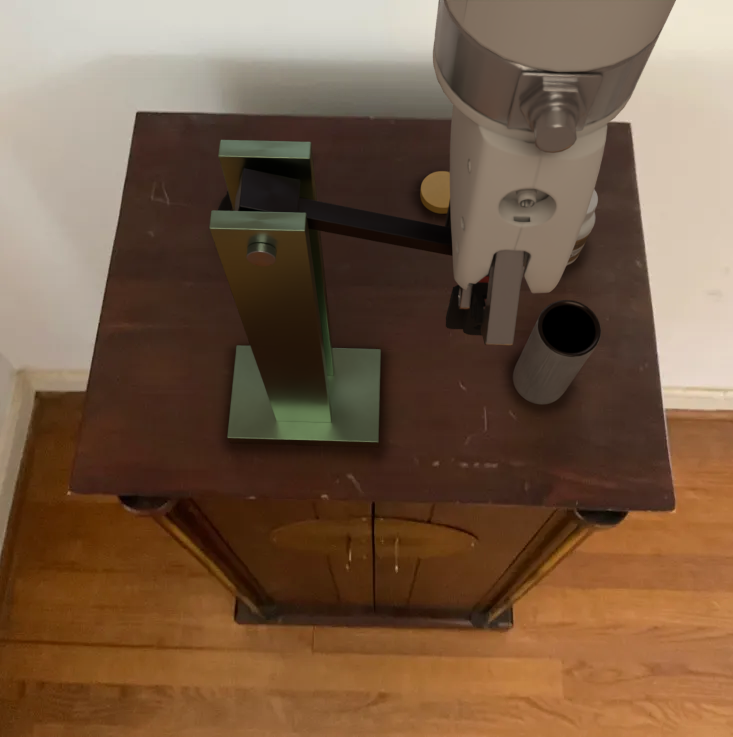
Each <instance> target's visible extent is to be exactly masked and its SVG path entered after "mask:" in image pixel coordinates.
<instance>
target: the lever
mask: <svg viewBox="0 0 733 737" xmlns="http://www.w3.org/2000/svg"><path fill="white" fill-rule="evenodd" d="M299 192H300V179H296V178H291V177H286V176H281V175H276V174H271V173H266V172H262V171H257V170H252V169H247V168H244V169H243V171H242V175H241V179H240V182H239V186H238V190H237V194H236V201H235V210H233V211H253V212H293V213H306V214H307V222H308V229H312V230H318V231H320V232H324V233H329V234H335V235H339V236H340V235H341V236H345V237H351V238H355V239H361V240H366V241H372V242H375V243H382V244H387V245H393V246H399V247H403V248H408V249H413V250H418V251H424V252H431V253H435V254H439V255H445V256H451V257H453V252H452V233H451V227H446V226H445V225H441V224H436V223H432V222H431V223H430V222H425V221H421V220H416V219H412V218H411V219H410V218H406V217H400V216H395V215H391V214H385V213H381V212H375V211H370V210H366V209H362V208H361V209H360V208H355V207H350V206H345V205H340V204H335V203H330V202H324V201H320V200H317V201H315V200H310V199H305V198H300V197H299ZM478 282H484V283H489V277H486V276H485V277H484V278H482V279H481V280H480V281H478Z"/></svg>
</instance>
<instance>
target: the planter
mask: <svg viewBox="0 0 733 737" xmlns="http://www.w3.org/2000/svg"><path fill="white" fill-rule="evenodd" d="M601 336H602V328H601V323H600V320H599V318H598V316H597V315H596V313H595V311H593V310H592V309H591V308H590V307H589V306H588V305H586V304H584V303H583V302H580V301H577V300H574V299H573V300H572V299H561V300H557V301H554V302H551V303H549V304H548V305H546V306H545V307H544V308H543V309H542V310H541V312H540V314H539V315H538V318H537V320H536V321H535V324H534V326H533V328H532V330H531V332H530V334H529V337H528V339H527V340H526V343H525V345H524V347H523V349H522V351H521V353H520V355H519V358H518V360H517V362H516V363H515V366H514V368H513V372H512V382H513V386H514V388H515V390H516V392H517V393H518V394H519V396H520V397H522V398H523V399H524V400H525V401H527V402H530V403H531V404H535V405H548V404H552V403H554V402H556V401H558V400H559V399H560V398H561V397H562V396H563V395H564V394H565V392H566V391H567V389H568V388H569V387H570V385H571V384H572V382H573V381H574V380H575V378H576V377H577V375H578V374H579V372H580V371H581V369H582V368H583V366H584V365H585V363H586V362H587V361H588V359H589V358H590V357H591V355H592V354H593V352H594V351H595V349H596V348H597V346H598V344H599V343H600V341H601Z"/></svg>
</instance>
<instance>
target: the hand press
mask: <svg viewBox="0 0 733 737" xmlns="http://www.w3.org/2000/svg"><path fill="white" fill-rule="evenodd" d="M217 157H218V160H219V165H220V168H221V172H222V175H223V178H224V182H225V185H226V186H225V187H226V189H227V191H228V193H229V196H230V200H231V203H232V210H230V211H218V210H211V212H210V218H209V226H208V228H209V232H210V235H211V237H212V240H213V244H214V246H215V249H216V253H217V254H218V257H219V260H220V263H221V266H222V269H223V272H224V275H225V277H226V281H227V283H228V286H229V289H230V292H231V295H232V298H233V300H234V303H235V306H236V309H237V313H238V315H239V318H240V320H241V323H242V327H243V329H244V332H245V335H246V337H247V341H248V343H249V345H236V346H235V355H234V365H233V376H232V386H231V396H230V403H229V404H230V405H229V416H228V425H227V435H226V439H227V440H228V442H229V443H230V444H245V445H282V446H283V445H284V446H286V445H287V446H314V447H315V446H317V447H319V446H320V447H321V446H322V447H355V448H356V447H357V448H379V444H380V439H379V438H380V406H381V405H380V403H381V402H380V399H381V367H382V366H381V362H382V350H381V349H380V348H379V349H378V348H377V349H376V348H347V347H346V348H344V347H343V348H342V347H333V340H332V331H331V330H332V329H331V321H330V320H331V319H330V310H329V302H328V300H329V299H328V292H327V283H326V281H327V280H326V273H325V264H324V263H325V261H324V253H323V242H322V233H321V232H322V231H318V230H312V229H308V222H307V214H306V213H293V212H253V211H234V210H235V201H236V194H237V190H238V186H239V182H240V179H241V175H242V171H243V169H244V168H247V169H252V170H257V171H262V172H266V173H271V174H276V175H281V176H286V177H291V178H296V179H300V192H299V197H300V198H305V199H310V200H315V201H318V194H317V183H316V175H315V165H314V155H313V144H312V142H311V141H296V140H295V141H291V140H287V141H286V140H254V139H253V140H251V139H250V140H249V139H248V140H247V139H246V140H245V139H220V140H219V145H218V154H217Z"/></svg>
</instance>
